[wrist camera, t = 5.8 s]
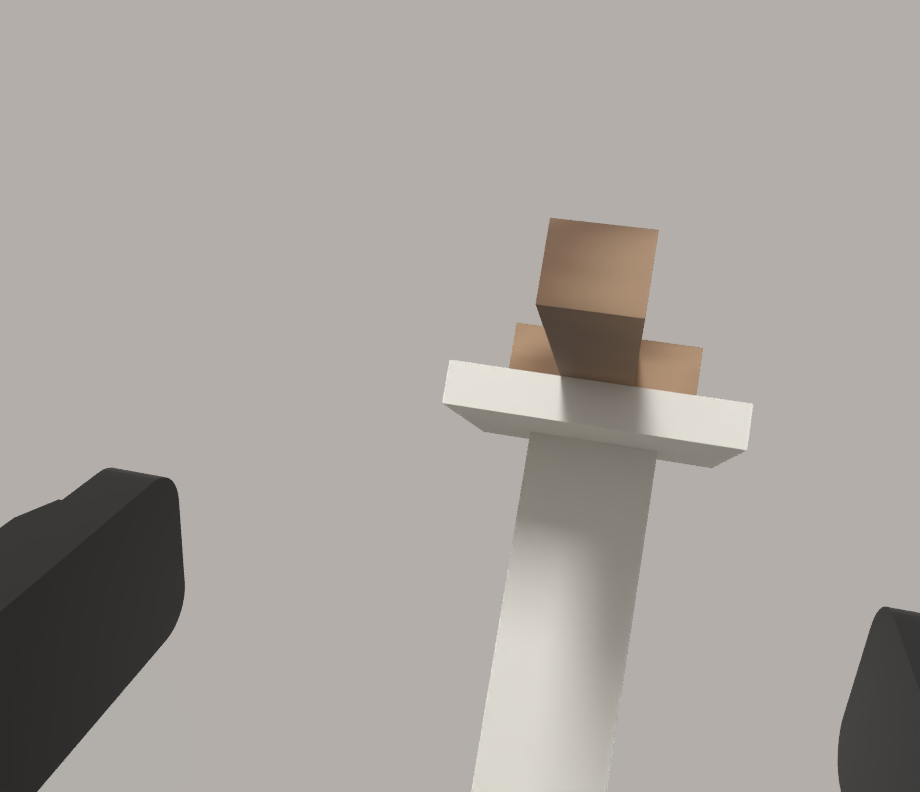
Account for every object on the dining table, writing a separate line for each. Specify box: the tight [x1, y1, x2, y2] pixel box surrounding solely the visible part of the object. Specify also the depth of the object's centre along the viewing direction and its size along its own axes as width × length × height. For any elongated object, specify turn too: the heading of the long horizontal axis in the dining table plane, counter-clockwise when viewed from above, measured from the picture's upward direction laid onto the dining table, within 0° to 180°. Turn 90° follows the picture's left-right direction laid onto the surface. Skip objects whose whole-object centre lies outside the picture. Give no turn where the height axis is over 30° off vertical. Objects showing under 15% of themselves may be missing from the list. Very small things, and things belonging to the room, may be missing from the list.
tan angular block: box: [509, 218, 703, 395], centre depth 29 cm, size 7×20×2 cm, turn 170°
